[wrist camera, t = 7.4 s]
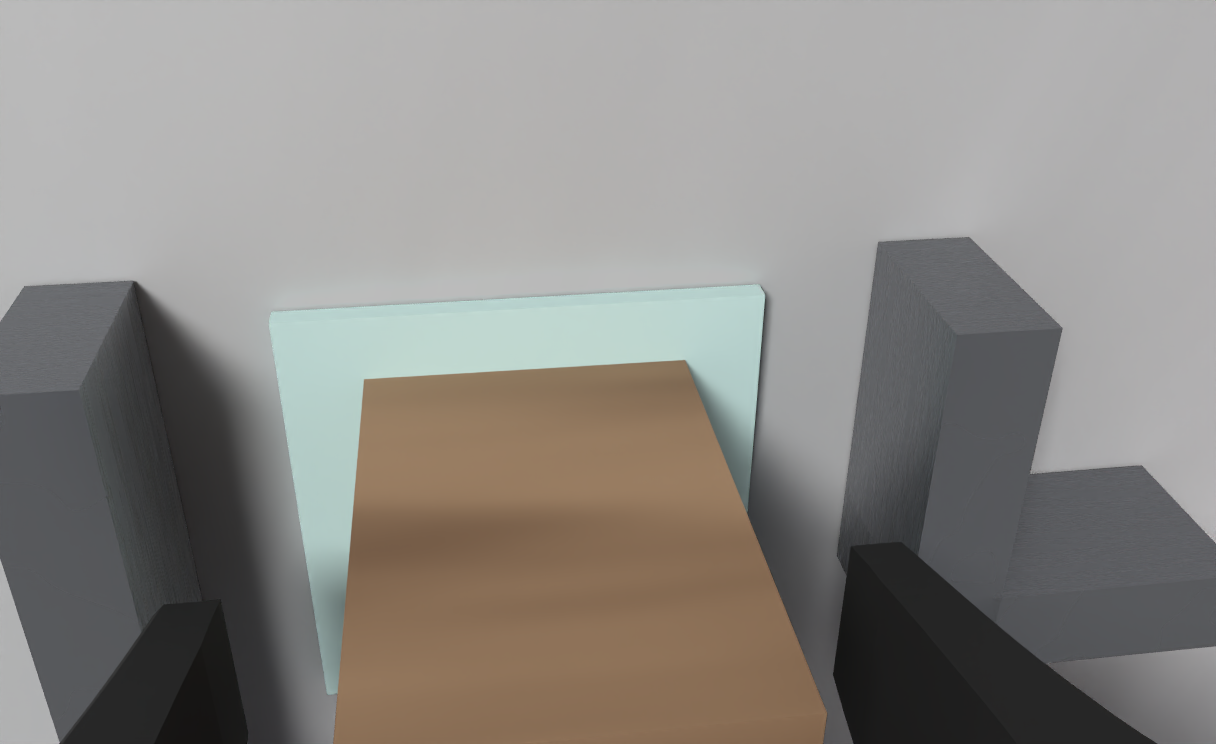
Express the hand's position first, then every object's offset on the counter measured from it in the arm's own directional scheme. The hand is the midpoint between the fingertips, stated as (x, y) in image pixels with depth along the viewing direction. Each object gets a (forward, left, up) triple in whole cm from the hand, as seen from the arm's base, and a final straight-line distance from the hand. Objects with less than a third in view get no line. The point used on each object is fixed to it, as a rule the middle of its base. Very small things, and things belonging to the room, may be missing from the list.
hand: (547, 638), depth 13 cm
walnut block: (0, 0, -2) cm, 3 cm away
